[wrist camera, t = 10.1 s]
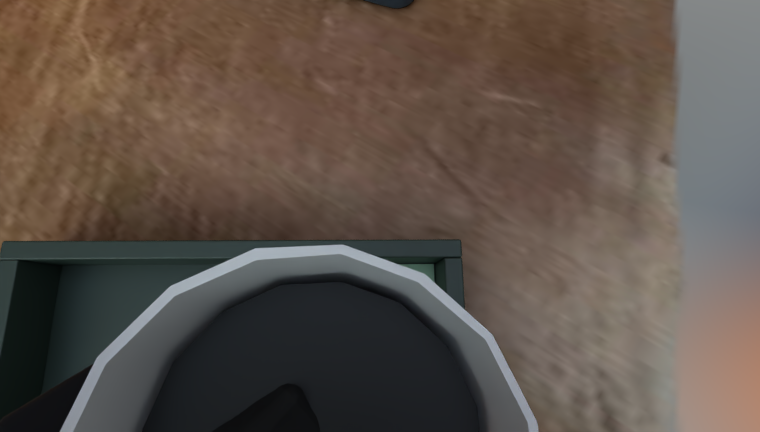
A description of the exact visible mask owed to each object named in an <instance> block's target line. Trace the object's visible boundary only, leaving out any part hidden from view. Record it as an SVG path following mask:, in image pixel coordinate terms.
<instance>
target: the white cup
mask: <svg viewBox="0 0 760 432" xmlns="http://www.w3.org/2000/svg"><path fill="white" fill-rule="evenodd" d="M60 432H538V424H537V421H536V419H535V417H534V415H533V413H532V411H531V409H530V407H529V405H528V403H527V401H526V399H525V397H524V395H523V393H522V391H521V389H520V388H519V386H518V384H517V382H516V380H515V378H514V376H513V374H512V372H511V370H510V368H509V366H508V364H507V362H506V360H505V358H504V356H503V354H502V352H501V350H500V348H499V347H498V345H497V343H496V341H495V339H494V337H493V335H492V334H491V333H490V332H489V331H488V330H487V329H486V328H484V327H483V326H482V325H481V324H480V323H479V322H478V321H477V320H476V319H474V318H473V317H472V316H471V315H470V314H469V313H468V312H467V311H466V310H464V309H463V308H462V307H461V306H460V305H459V304H458V303H457V302H455V301H454V300H453V299H452V298H451V297H450V296H449V295H448V294H447V293H445V292H444V291H443V290H442V289H441V288H440V287H439V286H438V285H437V284H435V283H434V282H433V281H432V280H431V279H430V278H429V277H428V276H427V275H425V274H423V273H421V272H418V271H415V270H412V269H410V268H407V267H404V266H401V265H398V264H396V263H393V262H390V261H387V260H385V259H382V258H379V257H376V256H374V255H371V254H368V253H365V252H362V251H360V250H357V249H354V248H351V247H349V246H346V245H321V246H298V247H275V248H255V249H253V250H251V251H248V252H246V253H244V254H242V255H239V256H237V257H235V258H233V259H230V260H228V261H226V262H224V263H221V264H219V265H217V266H215V267H212V268H210V269H208V270H206V271H203V272H201V273H199V274H197V275H194V276H192V277H190V278H188V279H185V280H183V281H181V282H179V283H176V284H174V285H172V286H170V287H169V288H168V289H167V290H166V291H165V292H164V293H163V294H162V295H161V296H160V297H159V298H157V299H156V300H155V301H154V302H153V303H152V304H151V305H150V306H149V307H148V308H147V309H146V310H145V311H144V312H143V313H142V314H141V315H140V316H139V317H138V318H137V319H136V320H135V321H134V322H133V323H132V324H131V325H130V326H129V327H128V328H127V329H126V330H124V331H123V332H122V333H121V334H120V335H119V336H118V337H117V338H116V339H115V340H114V341H113V342H112V343H111V344H110V345H109V346H108V347H107V348H106V349H105V350H104V351H103V352H102V353H101V354H100V355H99V356H98V357H97V358H96V360H95V362H94V364H93V366H92V368H91V370H90V372H89V374H88V376H87V378H86V380H85V382H84V384H83V386H82V388H81V390H80V392H79V394H78V396H77V398H76V400H75V402H74V404H73V406H72V408H71V410H70V412H69V414H68V416H67V418H66V420H65V422H64V424H63V426H62V428H61V430H60Z"/></svg>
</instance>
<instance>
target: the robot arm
mask: <svg viewBox="0 0 760 432" xmlns="http://www.w3.org/2000/svg"><path fill="white" fill-rule="evenodd" d="M93 364H94V363H93ZM93 364H92V365H90V366H88V367H87V368H85V369H83V370H82V371H80V372H78V373H77V374H75V375H73V376H72V377H70V378H68V379H67V380H65V381H63V382H61V383H60V384H58V385H56V386H55V387H53V388H51V389H50V390H48V391H46V392H45V393H43V394H41V395H40V396H38V397H36V398H35V399H33V400H31V401H30V402H28V403H26V404H25V405H23V406H21V407H20V408H18V409H16V410H15V411H13V412H11V413H9V414H8V415H6V416H4V417H3V418H2V419H1V422H0V432H60V430H61V428H62V426H63V424H64V422H65V420H66V418H67V416H68V414H69V412H70V410H71V408H72V406H73V404H74V402H75V400H76V398H77V396H78V394H79V392H80V390H81V388H82V386H83V384H84V382H85V380H86V378H87V376H88V374H89V372H90V370H91V368H92V366H93Z"/></svg>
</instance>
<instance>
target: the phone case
mask: <svg viewBox="0 0 760 432" xmlns="http://www.w3.org/2000/svg"><path fill="white" fill-rule="evenodd" d="M365 1H368V2H372V3H376V4H379V5H383V6H387V7H391V8H402V7H405V6H407V5H409V4H410V3H411V2H413V0H365Z"/></svg>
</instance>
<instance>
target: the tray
mask: <svg viewBox="0 0 760 432" xmlns="http://www.w3.org/2000/svg"><path fill="white" fill-rule="evenodd" d="M321 245H346V246H349V247H351V248H354V249H357V250H360V251H362V252H365V253H368V254H371V255H374V256H376V257H379V258H382V259H385V260H387V261H390V262H393V263H396V264H398V265H401V266H404V267H407V268H410V269H412V270H415V271H418V272H421V273H423V274H425V275H427V276H428V277H429V278H430V279H431V280H432V281H433V282H434V283H435V284H437V285H438V286H439V287H440V288H441V289H442V290H443V291H444V292H445V293H447V294H448V295H449V296H450V297H451V298H452V299H453V300H454V301H455V302H457V303H458V304H459V305H460V306H461V307H462V308H463V309H464V310H465V304H464V285H463V267H462V258H460V257H462V249H461V240H186V241H4V242H3V243H2V247H1V253H0V422H1V419H2V418H3V417H4V416H6V415H8V414H9V413H11V412H13V411H15V410H16V409H18V408H20V407H21V406H23V405H25V404H26V403H28V402H30V401H31V400H33V399H35V398H36V397H38V396H40V395H41V394H43V393H45V392H46V391H48V390H50V389H51V388H53V387H55V386H56V385H58V384H60V383H61V382H63V381H65V380H67V379H68V378H70V377H72V376H73V375H75V374H77V373H78V372H80V371H82V370H83V369H85V368H87V367H88V366H90V365H92V364H93V363H94V362H95V360H96V358H97V357H98V356H99V355H100V354H101V353H102V352H103V351H104V350H105V349H106V348H107V347H108V346H109V345H110V344H111V343H112V342H113V341H114V340H115V339H116V338H117V337H118V336H119V335H120V334H121V333H122V332H123V331H124V330H126V329H127V328H128V327H129V326H130V325H131V324H132V323H133V322H134V321H135V320H136V319H137V318H138V317H139V316H140V315H141V314H142V313H143V312H144V311H145V310H146V309H147V308H148V307H149V306H150V305H151V304H152V303H153V302H154V301H155V300H156V299H157V298H159V297H160V296H161V295H162V294H163V293H164V292H165V291H166V290H167V289H168V288H169V287H170V286H172V285H174V284H176V283H179V282H181V281H183V280H185V279H188V278H190V277H192V276H194V275H197V274H199V273H201V272H203V271H206V270H208V269H210V268H212V267H215V266H217V265H219V264H221V263H224V262H226V261H228V260H230V259H233V258H235V257H237V256H239V255H242V254H244V253H246V252H248V251H251V250H253V249H255V248H275V247H298V246H321Z"/></svg>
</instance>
